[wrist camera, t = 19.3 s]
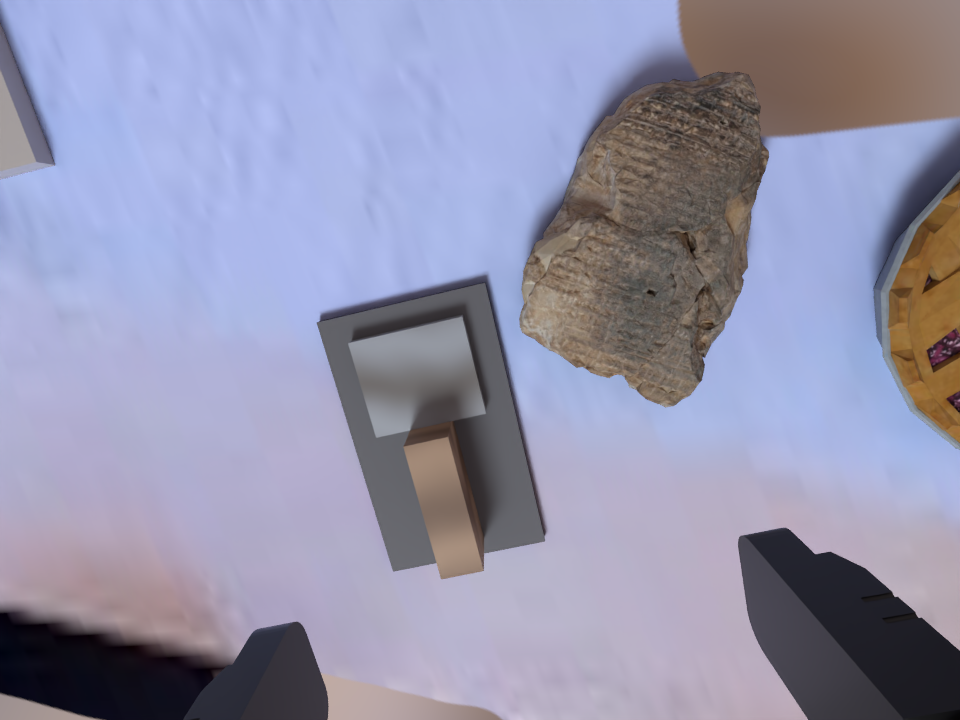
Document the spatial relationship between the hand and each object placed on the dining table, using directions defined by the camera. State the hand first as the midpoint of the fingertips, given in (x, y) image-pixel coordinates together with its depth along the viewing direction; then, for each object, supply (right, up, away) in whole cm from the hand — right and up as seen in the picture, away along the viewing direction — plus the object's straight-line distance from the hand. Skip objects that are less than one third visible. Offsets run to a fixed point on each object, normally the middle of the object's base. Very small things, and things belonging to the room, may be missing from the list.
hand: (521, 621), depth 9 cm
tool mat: (-4, -1, +29) cm, 29 cm away
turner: (-4, -1, +29) cm, 29 cm away
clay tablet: (+11, +13, +26) cm, 31 cm away
